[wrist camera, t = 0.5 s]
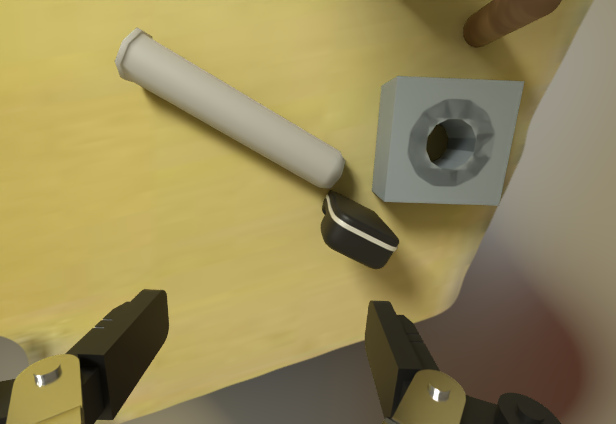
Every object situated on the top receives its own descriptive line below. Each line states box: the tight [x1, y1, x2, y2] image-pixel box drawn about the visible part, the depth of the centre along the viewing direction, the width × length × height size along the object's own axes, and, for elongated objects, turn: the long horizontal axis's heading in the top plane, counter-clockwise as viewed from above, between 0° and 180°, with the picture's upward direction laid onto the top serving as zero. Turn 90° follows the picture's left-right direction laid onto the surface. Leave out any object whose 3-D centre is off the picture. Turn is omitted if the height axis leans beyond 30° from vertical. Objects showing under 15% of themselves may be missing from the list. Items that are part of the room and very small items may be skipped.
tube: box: [115, 28, 345, 188], centre depth 33 cm, size 5×5×25 cm
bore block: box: [372, 76, 524, 206], centre depth 33 cm, size 12×12×6 cm
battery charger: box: [321, 190, 399, 269], centre depth 32 cm, size 7×4×11 cm, turn 63°
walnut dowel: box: [463, 0, 561, 47], centre depth 28 cm, size 3×3×9 cm
